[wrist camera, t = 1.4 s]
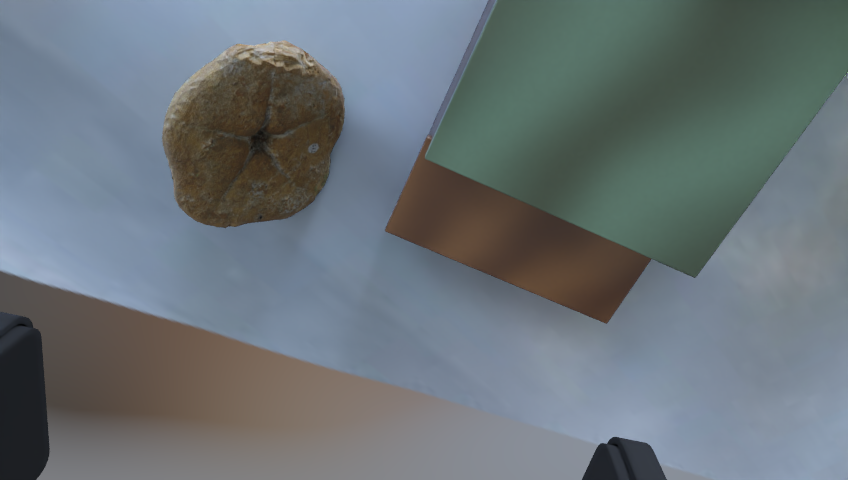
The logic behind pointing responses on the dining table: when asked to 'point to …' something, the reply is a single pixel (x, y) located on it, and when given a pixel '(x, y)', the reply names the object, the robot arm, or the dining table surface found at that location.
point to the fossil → (252, 134)
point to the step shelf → (615, 136)
